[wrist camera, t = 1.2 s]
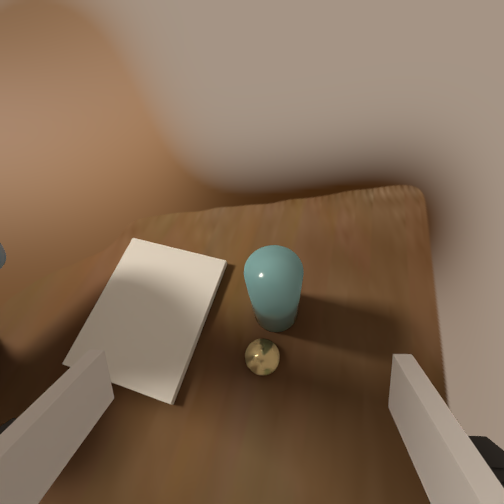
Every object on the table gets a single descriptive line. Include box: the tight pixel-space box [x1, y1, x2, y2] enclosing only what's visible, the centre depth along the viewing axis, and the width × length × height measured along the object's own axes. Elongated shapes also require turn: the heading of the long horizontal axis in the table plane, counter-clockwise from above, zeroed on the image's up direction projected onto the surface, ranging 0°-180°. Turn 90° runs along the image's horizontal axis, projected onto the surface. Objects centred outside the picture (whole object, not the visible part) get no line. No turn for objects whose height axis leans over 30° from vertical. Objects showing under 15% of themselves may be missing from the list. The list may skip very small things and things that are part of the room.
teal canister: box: [244, 245, 303, 332], centre depth 36 cm, size 6×6×13 cm
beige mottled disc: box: [245, 339, 280, 376], centre depth 39 cm, size 4×4×1 cm
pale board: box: [62, 238, 227, 405], centre depth 43 cm, size 16×20×1 cm
